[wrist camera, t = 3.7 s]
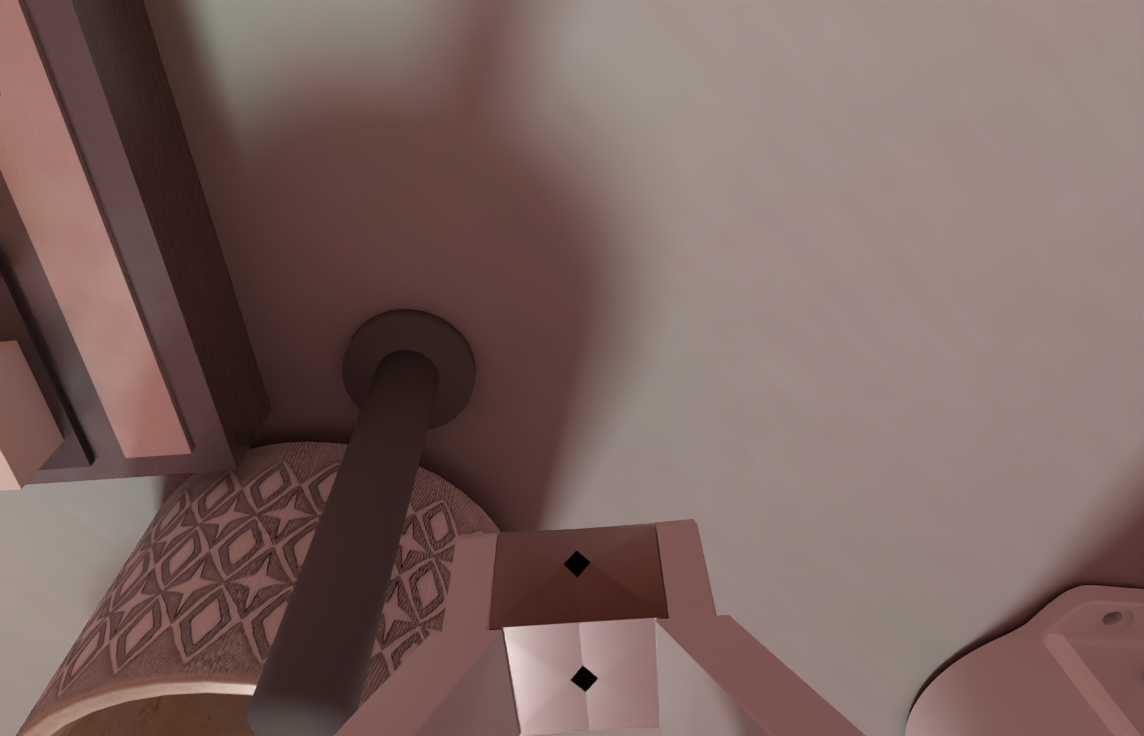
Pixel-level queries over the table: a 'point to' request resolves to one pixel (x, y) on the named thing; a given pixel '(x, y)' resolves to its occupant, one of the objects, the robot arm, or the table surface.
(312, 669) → the post
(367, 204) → the table surface
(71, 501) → the table surface
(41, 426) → the pale pink brick
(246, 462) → the planter
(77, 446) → the dark grey slotted tray
